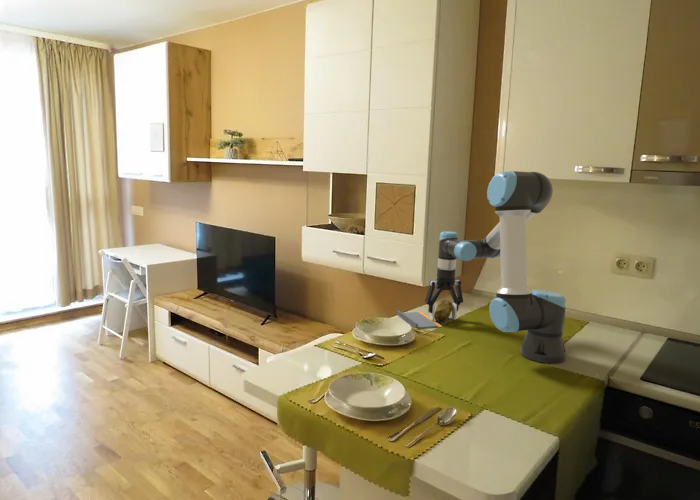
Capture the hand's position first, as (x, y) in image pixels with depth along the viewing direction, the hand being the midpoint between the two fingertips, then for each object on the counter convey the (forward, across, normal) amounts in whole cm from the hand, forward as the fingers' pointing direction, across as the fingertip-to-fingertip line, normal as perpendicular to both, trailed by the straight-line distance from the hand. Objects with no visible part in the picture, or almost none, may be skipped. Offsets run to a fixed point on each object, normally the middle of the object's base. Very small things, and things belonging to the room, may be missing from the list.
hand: (442, 319), depth 220 cm
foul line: (+1, +5, -2) cm, 5 cm away
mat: (+1, +11, -2) cm, 11 cm away
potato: (+1, 0, 0) cm, 1 cm away
